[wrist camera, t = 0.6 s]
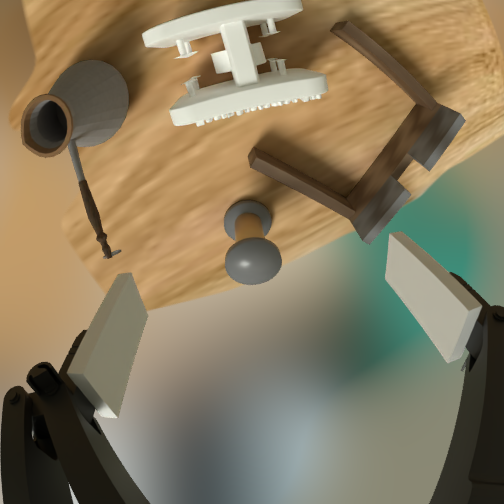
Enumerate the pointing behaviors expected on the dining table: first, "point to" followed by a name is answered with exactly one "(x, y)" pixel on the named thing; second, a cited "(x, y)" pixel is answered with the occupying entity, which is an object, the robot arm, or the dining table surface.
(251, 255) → the mushroom drawer knob
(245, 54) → the cable organizer
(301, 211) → the dining table surface
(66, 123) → the coffee pot
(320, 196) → the notched bay
